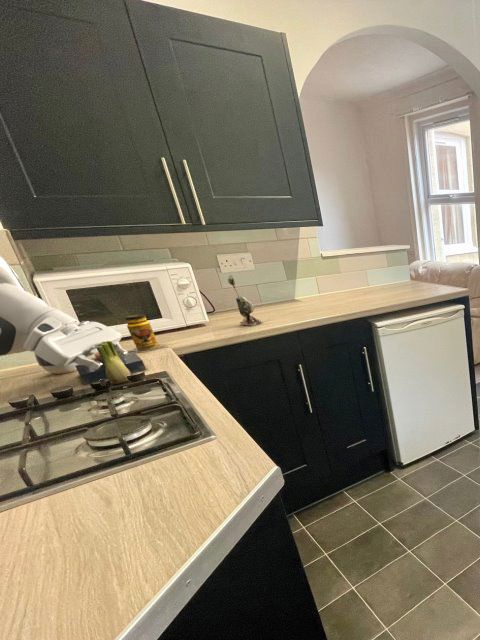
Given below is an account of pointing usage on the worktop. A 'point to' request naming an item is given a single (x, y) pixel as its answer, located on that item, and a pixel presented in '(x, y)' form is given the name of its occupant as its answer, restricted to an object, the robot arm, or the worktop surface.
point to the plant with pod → (244, 307)
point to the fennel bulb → (113, 363)
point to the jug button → (98, 356)
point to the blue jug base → (92, 375)
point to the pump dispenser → (54, 368)
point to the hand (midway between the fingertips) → (113, 360)
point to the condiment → (141, 333)
